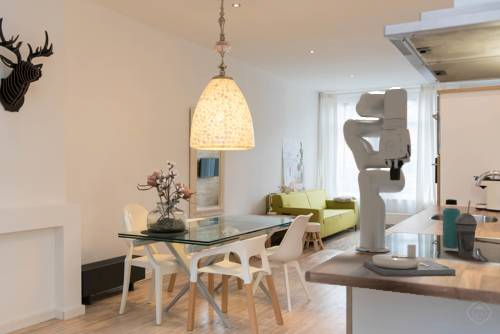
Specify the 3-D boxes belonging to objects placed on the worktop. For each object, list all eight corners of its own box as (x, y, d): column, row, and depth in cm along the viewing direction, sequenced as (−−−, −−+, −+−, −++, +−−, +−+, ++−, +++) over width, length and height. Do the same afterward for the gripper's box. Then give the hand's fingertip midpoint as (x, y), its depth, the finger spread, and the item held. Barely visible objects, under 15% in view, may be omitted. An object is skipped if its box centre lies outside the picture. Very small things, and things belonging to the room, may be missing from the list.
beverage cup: (453, 254, 170) (454, 200, 170) (475, 255, 168) (475, 200, 168) (455, 257, 163) (455, 200, 164) (478, 258, 161) (478, 201, 161)
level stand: (363, 265, 145) (363, 260, 145) (429, 264, 148) (429, 259, 148) (382, 275, 130) (382, 269, 130) (455, 274, 133) (455, 268, 133)
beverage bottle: (462, 253, 173) (462, 199, 173) (444, 252, 174) (444, 199, 174) (458, 250, 179) (458, 199, 179) (440, 249, 180) (440, 198, 181)
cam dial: (379, 268, 132) (379, 247, 132) (368, 260, 145) (368, 241, 145) (424, 269, 132) (424, 248, 132) (409, 260, 145) (409, 241, 145)
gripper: (370, 126, 157) (369, 180, 157) (408, 122, 145) (407, 180, 145) (383, 128, 162) (383, 180, 162) (421, 124, 150) (421, 180, 150)
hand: (394, 180), depth 153 cm, fingers closed
